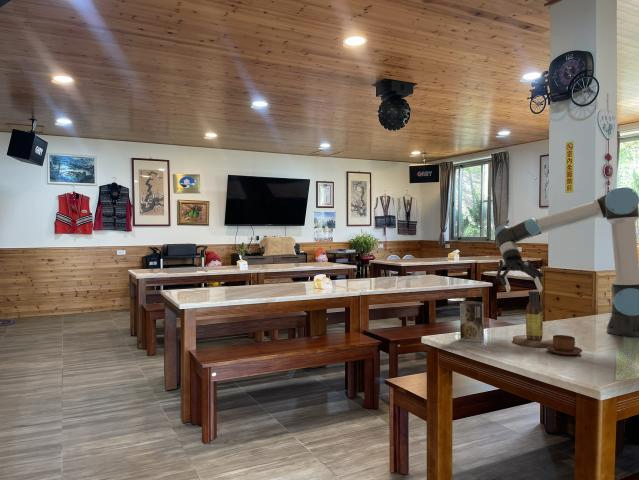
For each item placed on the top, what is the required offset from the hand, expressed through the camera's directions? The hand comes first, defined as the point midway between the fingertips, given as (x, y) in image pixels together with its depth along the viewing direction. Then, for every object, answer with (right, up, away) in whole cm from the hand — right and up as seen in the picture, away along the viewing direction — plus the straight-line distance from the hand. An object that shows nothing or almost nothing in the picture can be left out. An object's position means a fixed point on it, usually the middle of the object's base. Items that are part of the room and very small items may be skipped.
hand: (524, 290), depth 200 cm
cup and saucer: (+4, -21, -24) cm, 32 cm away
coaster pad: (0, -21, -8) cm, 22 cm away
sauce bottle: (0, -19, -8) cm, 21 cm away
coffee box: (-24, -21, -3) cm, 32 cm away
